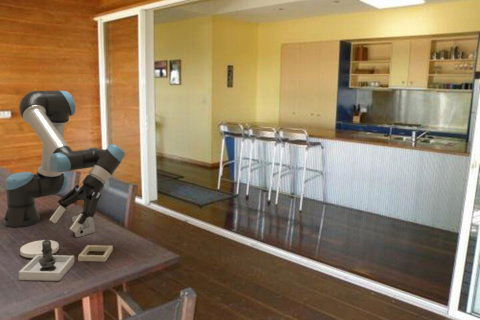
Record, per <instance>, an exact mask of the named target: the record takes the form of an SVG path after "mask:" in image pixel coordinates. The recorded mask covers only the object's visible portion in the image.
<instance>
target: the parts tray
mask: <svg viewBox="0 0 480 320" xmlns="http://www.w3.org/2000/svg"><path fill="white" fill-rule="evenodd" d="M52 256H53V257H56V262H55V264H54V266H55V267H56V269H55V270H53V271H40V269H41V268H42V266H41V265H40V263H39V260H40V259H41V258H42V257H43V255H36V256H35V257H34V258H31V260H30V261H29V262H27V263H26V264H25V265H24V266H23V267H22V268H21V269H20V270H18V279H19V281H46V282H47V281H49V282H53V281H55V282H60V281H61V280H62V279H63V278H64V276H65V275H66V274H67V273H68V271H69V270H71V268H72V267H73V265H74V264H75V255H67V254H66V255H64V254H63V255H59V254H58V255H57V254H56V255H55V254H52Z"/></svg>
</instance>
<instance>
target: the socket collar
mask: <svg viewBox="0 0 480 320" xmlns="http://www.w3.org/2000/svg"><path fill="white" fill-rule="evenodd" d="M113 246H114V245H98V244H97V245H93V244H92V245H91V244H90V245H89V244H87V245H86V246H85V247H84V248H83V249H82V251H81V252H80V253H79V254H78V256H77V259H78V261H79V262H106V261H107V260H108V258H109V257H110V255H111V253H112V252H113V251H114V248H113ZM89 252H104V253H103V255H102V254H100V255H99V254H97V255H96V254H89Z"/></svg>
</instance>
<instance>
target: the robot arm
mask: <svg viewBox="0 0 480 320" xmlns="http://www.w3.org/2000/svg"><path fill="white" fill-rule="evenodd" d="M18 109H19V115H20V117H21V119H22V120H23V121H24V122H25V123H26V124H29V125H30V127H31V128H32V130H33V131H34V133H35V134H36V135H37V137H38V138H39V141H41V142H42V151H41V152H42V153H41V165H40V166H38V168H37V170H36V171H37V172H36V173H33V172H31V171H24V172H23V171H22V172H17V173H13V174H10V175H9V176H7V177H6V179H5V195H6V205H7V206H6V207H7V208H6V212H5V215H4V218H3V219H4V220H3V223H4V224H3V225H4V226H6V227H8V228H9V227H10V228H23V227H30V226H33V225H35V224H38V223H39V222H40V221H41V218H40V217H41V216H40V213H39V211H38V209H37V206H36V200H35V199H39V198H44V197H50V196H55V195H60V194H62V193H63V192H65V190H66V189H67V186H68V179H67V178H68V177H67V173H66V172H71V171H76V170H77V171H78V170H84V169H90V168H91V170H89V171H88V174H86V176H85V177H84V179H83V180H82V182H81V183H82V186H80V185H78V184H76V185H75V186H74V187H73V188H72V189H71V190H70V191H68V192H67V193H66V194H65V195H64V196H62V197H61V198H60V199H59V200H58V201H57V203H58V204H59V205H58V206H57V208H56V209H55V211H54V212H53V214H52V215H51V217H50V218H49V219H48V220H49V221H50V222H52V223H53V224H57V222H59V219H60V218H61V217H62V216H63V214H64V213H65V212H66V210H67V207H69V206H71V205H73V204H74V203H76V202H77V201H83V206H82V207H83V208H82V212H81V213H79V216H78V215H77V216H78V218H77V219H76V221H75V222H74V223H73V225H72V224H71V226H70V227H69V230H71V231H72V233H73V232H75V233H76V232H77V231H78V229H79V228H80V226H81V225H82V224H83V223H84V222H85V220H86V219H87V218H88V217H94V216H95V213H96V209H97V205H98V203H99V200H100V198H101V197H102V194H100V192H101V190H102V189H103V188H104V187H105V186H104V185H105V184H106V183H107V182H108V180H109V179H110V178H111V177H112V175H114V172H115V171H116V170H117V169H118V168H119V166H120V164H121V163H122V161H123V159H124V158H125V157H126V152H125V151H124V150H123V148H121V147H119V145H116V144H113V143H112V144H109V145H108V146H107V147H106V149H104V148H98V147H87V148H86V149H80V150H72V149H71V147H70V146H69V143H67V142H66V140H65V138H64V135H65V126H66V125H65V124H67V123H69V121H70V117H72V116H73V115H74V114H75V113H76V103H75V99H74V97H73V96H72V94H71V93H70V92H68V91H66V90H60V89H58V90H32V91H29V92H27V93H25V94H24V95H23V97H22V98H21V100H20V102H19V106H18ZM82 214H83V215H82Z"/></svg>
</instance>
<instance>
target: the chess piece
mask: <svg viewBox="0 0 480 320" xmlns="http://www.w3.org/2000/svg"><path fill="white" fill-rule="evenodd" d="M44 240H45V241H43V242H42V248H43V249H42V252H43V257H42V258H41V259H40V260H39V263H40V265H41V266H42V268H41V269H40V271H53V270H55V269H56V267H55V266H54V264H55V262H56V257H53V256H52V255H53V254H52V248H51V241H49V239H48V238H46V237H45V239H44Z"/></svg>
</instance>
